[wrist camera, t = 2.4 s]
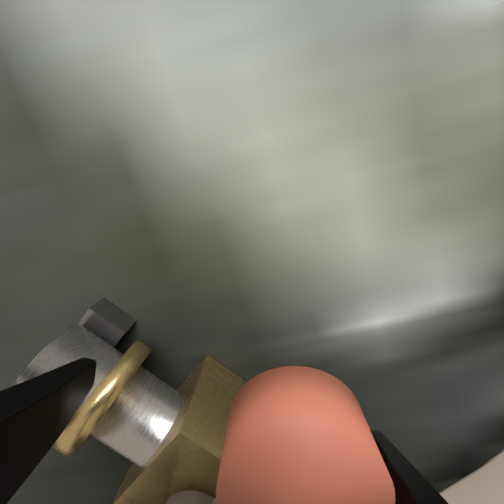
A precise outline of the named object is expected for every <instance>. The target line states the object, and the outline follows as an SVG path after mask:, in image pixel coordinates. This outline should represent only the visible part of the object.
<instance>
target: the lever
mask: <svg viewBox="0 0 504 504" xmlns="http://www.w3.org/2000/svg"><path fill="white" fill-rule="evenodd" d="M395 500H396V499H395V489H394V485H393V481H392V479H391V477H390V474H389V472H388V470H387V467H386V465H385V463H384V461H383V458H382V456H381V454H380V451H379V449H378V447H377V444H376V442H375V440H374V438H373V435H372V433H371V431H370V428H369V426H368V424H367V421H366V419H365V417H364V415H363V412H362V410H361V408H360V405H359V403H358V401H357V399H356V397H355V396H354V394H353V393H352V391H351V390H350V389H349V388H348V387H347V386H346V385H345V384H344V383H343V382H341V381H340V380H339V379H337V378H336V377H334V376H332V375H330V374H328V373H326V372H324V371H321V370H318V369H314V368H310V367H302V366H286V367H279V368H275V369H271V370H268V371H265V372H263V373H261V374H259V375H257V376H255V377H253V378H252V379H250V380H249V381H248V382H247V383H245V384H244V385H243V386H242V387H241V388H240V390H239V391H238V392H237V394H236V395H235V397H234V398H233V401H232V403H231V405H230V409H229V414H228V420H227V426H226V432H225V438H224V444H223V450H222V456H221V462H220V468H219V474H218V480H217V486H216V499H214V498H213V497H212V496H210V495H208V494H206V493H203V492H199V491H192V490H188V491H181V492H178V493H176V494H174V495H172V496H171V497H170V498H169V499H168V500H167V501H166V503H165V504H395Z"/></svg>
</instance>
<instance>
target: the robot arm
mask: <svg viewBox="0 0 504 504" xmlns="http://www.w3.org/2000/svg"><path fill="white" fill-rule="evenodd" d="M96 365H97V363H96V361H95V360H93V359H89V358H85V357H83V358H80V359H78V360H75V361H73V362H70V363H68V364H65V365H63V366H61V367H58V368H56V369H53V370H51V371H48V372H46V373H44V374H41V375H39V376H36V377H34V378H31V379H29V380H27V381H24V382H22V383H19V384H17V385H14V386H12V387H10V388H7V389H5V390H2V391H0V504H7V502H8V501H9V500H10V499H11V497H12V496H13V495H14V494H15V492H16V491H17V490H18V489H19V487H20V486H21V485H22V484H23V482H24V481H25V480H26V479H27V477H28V476H29V475H30V474H31V472H32V471H33V470H34V469H35V467H36V466H37V465H38V463H39V462H40V461H41V460H42V458H43V457H44V456H45V455H46V453H47V452H48V451H49V450H50V448H51V447H52V446H53V445H54V443H55V442H56V441H57V439H58V438H59V437H60V435H61V434H62V432H63V431H64V429H65V428H66V426H67V425H68V423H69V422H70V420H71V419H72V417H73V416H74V414H75V413H76V411H77V410H78V408H79V407H80V405H81V404H82V402H83V401H84V399H85V398H86V396H87V395H88V393H89V392H90V390H91V389H92V387H93V384H94V381H95V373H96ZM370 431H371V433H372V435H373V438H374V440H375V442H376V444H377V447H378V449H379V451H380V454H381V456H382V458H383V461H384V463H385V465H386V467H387V470H388V472H389V474H390V477H391V479H392V481H393V485H394V489H395V499H396V500H395V504H448V503H447V502H446V500H445V499H444V498H443V497H442V496H441V495H440V494H439V493H438V492H437V491H436V490H435V489H434V488H433V487H432V486H431V485H430V484H429V482H428V481H427V480H426V479H425V478H424V477H423V476H422V475H421V474H420V473H419V472H418V471H417V470H416V469H415V468H414V467H413V465H412V464H411V463H410V462H409V461H408V460H407V459H406V458H405V457H404V456H403V455H402V454H401V453H400V452H399V451H398V450H397V448H396V447H395V446H394V445H393V444H392V443H391V442H390V441H389V440H388V439H387V438H386V437H385V436H384V435H383V434H382V433H381V432H380V431H376V430H372V429H370Z"/></svg>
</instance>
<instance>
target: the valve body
mask: <svg viewBox="0 0 504 504" xmlns="http://www.w3.org/2000/svg"><path fill="white" fill-rule="evenodd" d="M135 322H136V320H135V319H133V318H132V317H130V316H129V315H127V314H126V313H125V312H123V311H122V310H120V309H119V308H117V307H116V306H115V305H113V304H112V303H110V302H109V301H107V300H106V299H105V298H103V299H102V300H100V301H99V302H97V303H96V304H94V305H93V306H91V307H90V308H89V309H88V310H87V312H86V313H85V315H84V316H83V317H82V319H81V320H80V322H79V323H78V324H75V325H73V326H71V327H69V328H68V329H66V330H65V331H64V332H62V333H61V334H60V335H59V336H57V337H56V338H55V339H54V340H53V341H51V342H50V343H49V344H48V345H47V346H46V347H45V348H44V349H43V350H42V351H41V352H40V353H39V354H38V355H37V356H36V357H35V358H34V359H33V360H32V361H31V362H30V363H29V365H28V366H27V367H26V368H25V369H24V370H23V372H22V373H21V374H20V376H19V377H18V379H17V380H16V382H15V384H14V385H17V384H19V383H22V382H24V381H27V380H29V379H31V378H34V377H36V376H39V375H41V374H44V373H46V372H48V371H51V370H53V369H56V368H58V367H61V366H63V365H65V364H68V363H70V362H73V361H75V360H78V359H80V358H83V357H85V358H89V359H93V360H95V361H96V363H97V365H96V373H95V381H94V384H93V387H92V389H91V390H90V392H89V393H88V395H87V396H86V398H85V399H84V401H83V402H82V404H81V405H80V407H79V408H78V410H77V411H76V413H75V414H74V416H73V417H72V419H71V420H70V422H69V423H68V425H67V426H66V428H65V429H64V431H63V432H62V434H61V435H60V437H59V438H58V439H57V441H56V442H55V443H54V445H53V446H52V448H53V449H55V450H57V451H58V452H60V453H62V454H63V455H65V456H66V457H68V458H71V457H72V455H73V454H74V453H75V452H76V451H77V449H78V448H79V447H80V446H81V444H82V443H83V442H84V441H85V439H86V438H87V437H88V435H90V436H91V437H93V438H95V439H96V440H98V441H99V442H101V443H103V444H104V445H106V446H107V447H109V448H111V449H112V450H114V451H115V452H117V453H118V454H120V455H122V456H123V457H125V458H126V459H128V460H130V461H131V462H132V464H131V466H130V468H129V470H128V472H127V474H126V476H125V478H124V480H123V482H122V484H121V486H120V488H119V490H118V492H117V494H116V496H115V498H114V500H113V502H112V504H165V503H166V501H167V500H168V499H169V498H170V497H171V496H172V495H174V494H176V493H178V492H181V491H188V490H192V491H199V492H203V493H206V494H208V495H210V496H212V497H213V498H214V499H216V486H217V480H218V474H219V468H220V462H221V456H222V450H223V444H224V438H225V432H226V426H227V420H228V414H229V409H230V405H231V403H232V401H233V398H234V397H235V395H236V394H237V392H238V391H239V390H240V388H241V387H242V386H243V385H244V384H245V383H247V382H246V381H245V380H243V379H242V378H241V377H239V376H238V375H236V374H235V373H234V372H232V371H231V370H229V369H228V368H226V367H225V366H224V365H222V364H221V363H219V362H218V361H217V360H215V359H214V358H212V357H211V356H210V355H208V354H207V355H206V356H205V357H204V358H203V359H202V361H201V362H200V363H199V364H198V365H197V366H196V368H195V369H194V370H193V371H192V372H191V373H190V374H189V376H188V377H187V378H186V379H185V380H184V381H183V383H182V384H181V385H180V386H179V387H178V388H177V389H176V390H175V389H174V388H173V387H171V386H170V385H168V384H167V383H165V382H164V381H162V380H161V379H159V378H158V377H156V376H155V375H153V374H152V373H150V372H149V371H148V370H146V369H145V368H143V367H142V366H141V365H142V363H143V362H144V360H145V359H146V358H147V356H148V355H149V353H150V352H151V350H152V349H151V348H149V347H148V346H146V345H145V344H144V343H142V342H141V341H139V340H138V339H137V340H136V341H135V342H134V343H133V344H132V345H131V346H130V348H129V349H128V350H127V351H126V352H125V353H124V354H123V353H121V352H120V351H118V350H117V349H116V347H117V346H118V345H119V343H120V342H121V341H122V339H123V338H124V337H125V335H126V334H127V333H128V331H129V330H130V329H131V327H132V326H133V325H134V323H135Z"/></svg>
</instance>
